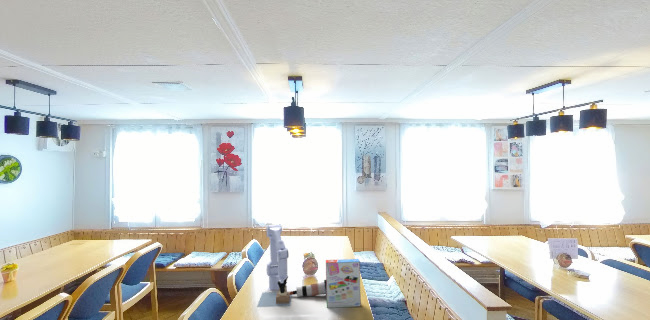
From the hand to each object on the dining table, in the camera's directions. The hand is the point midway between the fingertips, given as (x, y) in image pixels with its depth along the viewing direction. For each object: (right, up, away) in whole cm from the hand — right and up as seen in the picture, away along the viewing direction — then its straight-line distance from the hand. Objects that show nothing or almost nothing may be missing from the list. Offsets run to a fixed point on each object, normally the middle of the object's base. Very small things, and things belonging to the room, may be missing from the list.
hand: (283, 290), depth 205 cm
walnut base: (0, -6, 0) cm, 6 cm away
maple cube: (0, -2, 0) cm, 2 cm away
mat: (-5, -7, +3) cm, 9 cm away
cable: (+20, -7, +8) cm, 22 cm away
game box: (+37, -7, -7) cm, 39 cm away
